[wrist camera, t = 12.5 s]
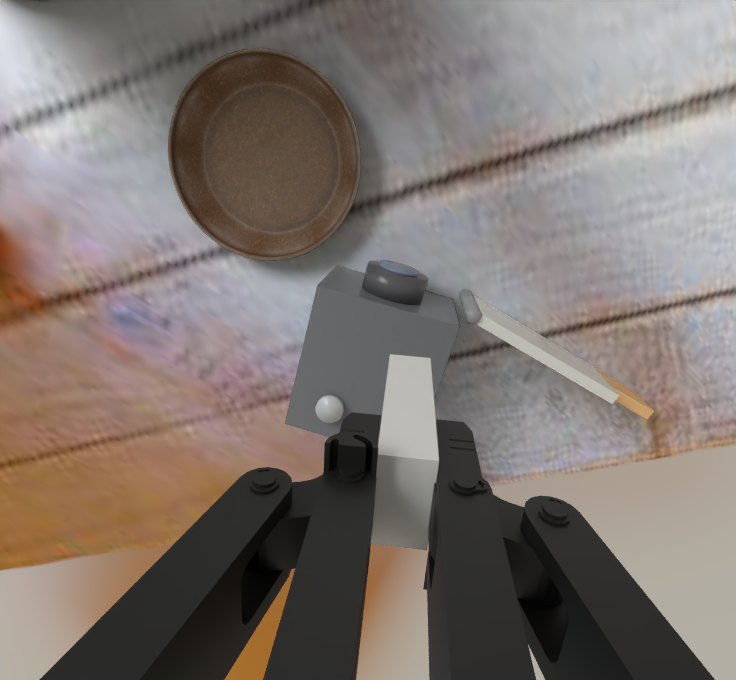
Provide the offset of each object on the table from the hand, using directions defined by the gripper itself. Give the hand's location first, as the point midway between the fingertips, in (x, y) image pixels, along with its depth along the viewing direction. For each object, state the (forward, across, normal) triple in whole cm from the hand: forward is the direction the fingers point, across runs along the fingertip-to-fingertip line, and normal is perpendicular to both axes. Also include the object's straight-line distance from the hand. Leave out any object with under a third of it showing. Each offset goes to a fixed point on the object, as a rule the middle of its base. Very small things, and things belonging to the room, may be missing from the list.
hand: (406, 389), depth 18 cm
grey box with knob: (+23, -2, -7) cm, 24 cm away
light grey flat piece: (+23, +12, -5) cm, 26 cm away
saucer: (+24, -12, +7) cm, 28 cm away
